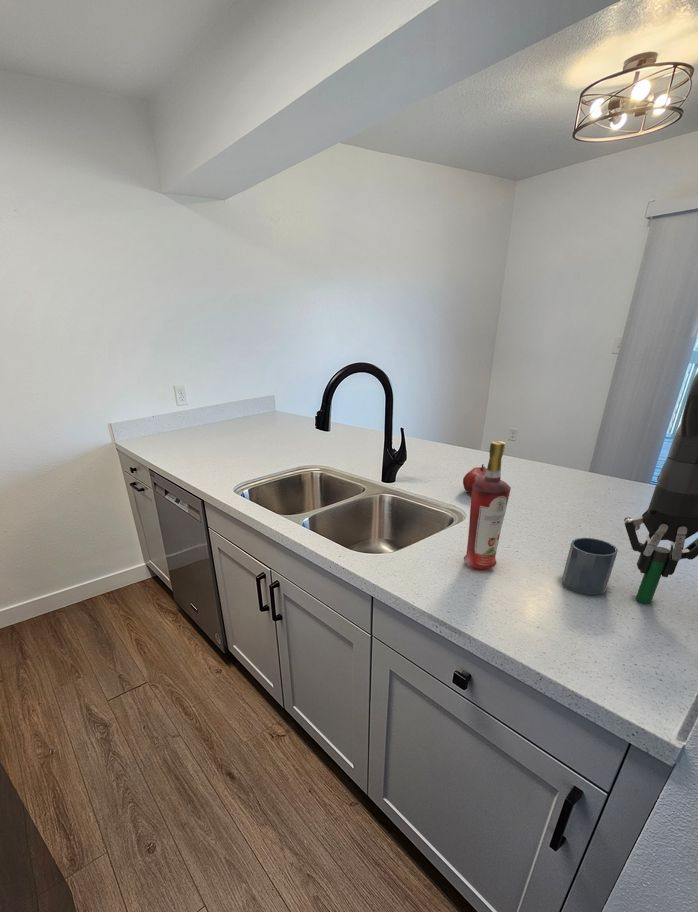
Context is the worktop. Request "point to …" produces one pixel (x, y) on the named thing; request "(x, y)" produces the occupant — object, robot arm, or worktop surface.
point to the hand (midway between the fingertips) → (653, 572)
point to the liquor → (487, 512)
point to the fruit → (473, 477)
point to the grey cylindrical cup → (589, 566)
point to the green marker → (652, 575)
